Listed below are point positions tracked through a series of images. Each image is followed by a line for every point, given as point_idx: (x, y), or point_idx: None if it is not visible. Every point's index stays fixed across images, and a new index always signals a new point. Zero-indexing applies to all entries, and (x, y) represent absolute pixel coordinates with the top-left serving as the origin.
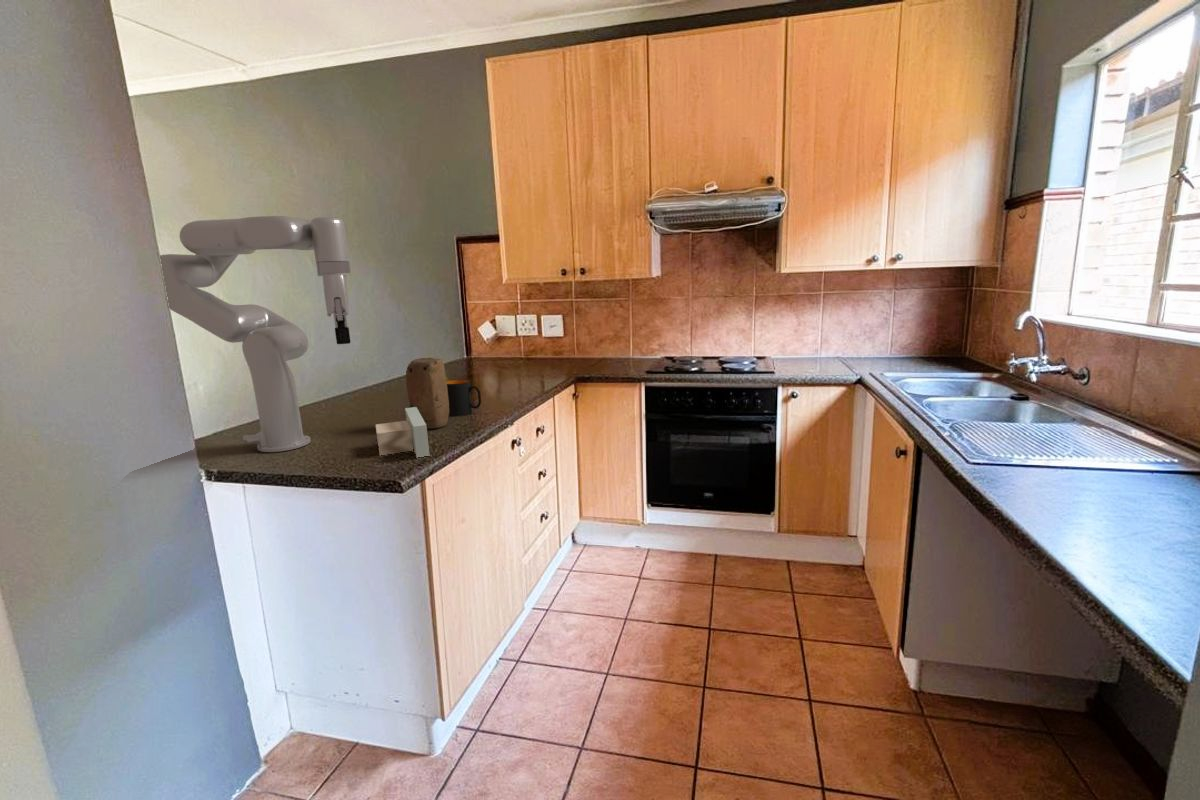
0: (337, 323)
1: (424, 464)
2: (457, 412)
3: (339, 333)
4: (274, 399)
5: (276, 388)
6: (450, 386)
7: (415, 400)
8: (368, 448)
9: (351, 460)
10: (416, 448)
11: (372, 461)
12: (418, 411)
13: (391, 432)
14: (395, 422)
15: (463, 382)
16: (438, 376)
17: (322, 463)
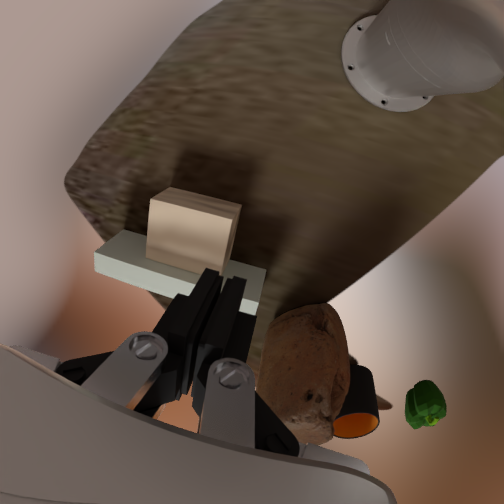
0: (85, 357)
1: (95, 227)
2: None
3: (161, 321)
4: (382, 14)
5: (391, 13)
6: (341, 412)
7: (301, 340)
8: (236, 184)
9: (177, 139)
10: (115, 236)
11: (149, 168)
12: None
13: (148, 224)
14: (219, 256)
15: (360, 431)
16: None
17: (195, 92)
